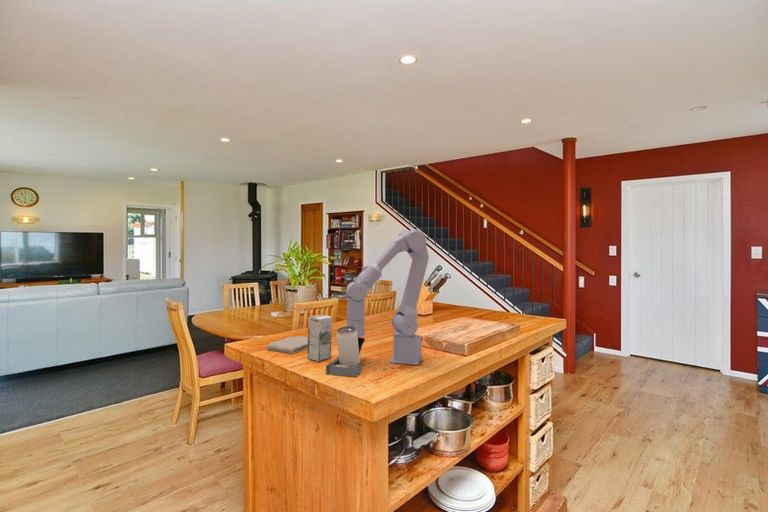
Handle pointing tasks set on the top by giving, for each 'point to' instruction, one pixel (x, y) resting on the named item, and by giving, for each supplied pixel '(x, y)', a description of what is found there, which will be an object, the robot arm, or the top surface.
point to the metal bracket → (343, 369)
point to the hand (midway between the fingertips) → (354, 360)
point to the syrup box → (319, 337)
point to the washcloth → (289, 344)
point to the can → (348, 346)
